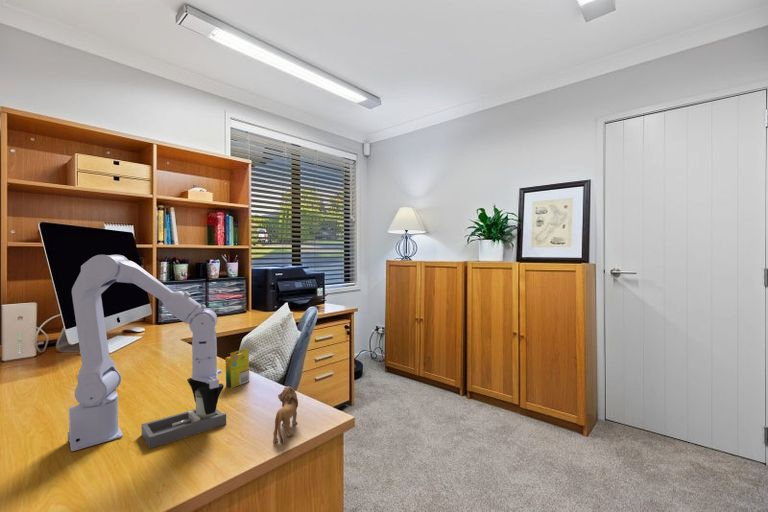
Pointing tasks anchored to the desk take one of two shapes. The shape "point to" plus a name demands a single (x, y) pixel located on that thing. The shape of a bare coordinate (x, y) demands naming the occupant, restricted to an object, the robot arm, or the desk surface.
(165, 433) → the pusher lane
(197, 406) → the jar
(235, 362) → the crayon box
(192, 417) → the pusher
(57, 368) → the desk surface
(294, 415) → the lion figurine
